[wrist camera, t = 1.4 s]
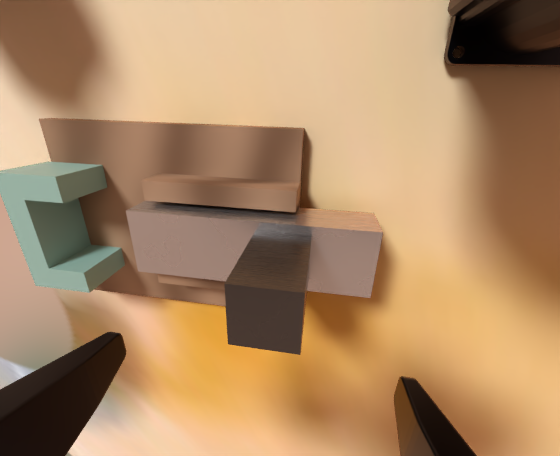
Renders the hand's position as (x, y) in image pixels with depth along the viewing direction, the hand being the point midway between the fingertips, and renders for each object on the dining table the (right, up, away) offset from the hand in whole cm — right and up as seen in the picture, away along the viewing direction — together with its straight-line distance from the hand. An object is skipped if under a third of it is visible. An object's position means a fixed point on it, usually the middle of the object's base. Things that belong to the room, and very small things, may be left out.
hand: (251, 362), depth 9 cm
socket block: (-13, +6, +12) cm, 18 cm away
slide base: (-6, +5, +11) cm, 13 cm away
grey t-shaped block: (-1, +4, +9) cm, 10 cm away
